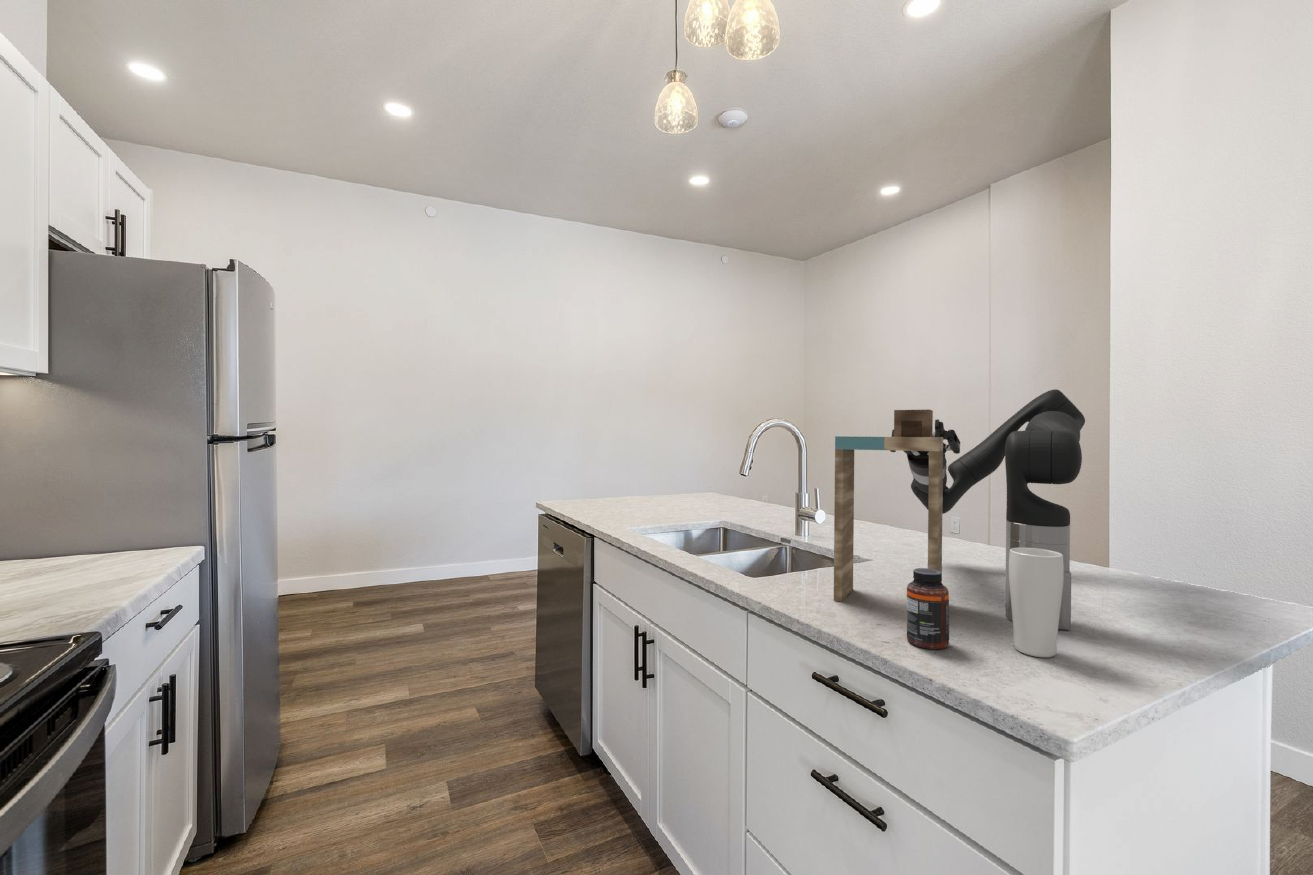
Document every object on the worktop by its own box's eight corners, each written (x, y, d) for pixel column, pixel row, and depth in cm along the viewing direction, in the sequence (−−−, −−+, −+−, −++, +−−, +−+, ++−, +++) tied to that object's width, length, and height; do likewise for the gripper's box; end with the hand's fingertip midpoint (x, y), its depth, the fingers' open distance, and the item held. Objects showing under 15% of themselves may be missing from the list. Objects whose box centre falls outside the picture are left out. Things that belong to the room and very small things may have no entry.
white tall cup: (1064, 664, 78) (1065, 558, 78) (1007, 654, 82) (1009, 553, 82) (1060, 649, 84) (1061, 550, 84) (1007, 640, 88) (1008, 545, 88)
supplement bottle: (939, 637, 89) (940, 566, 89) (955, 651, 83) (956, 576, 83) (900, 635, 89) (901, 565, 89) (914, 650, 83) (915, 574, 83)
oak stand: (941, 602, 107) (943, 437, 107) (936, 616, 99) (938, 437, 99) (845, 588, 117) (847, 436, 117) (833, 600, 108) (835, 436, 108)
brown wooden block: (938, 437, 115) (938, 413, 115) (929, 437, 100) (929, 409, 100) (907, 436, 118) (907, 413, 118) (893, 436, 104) (894, 410, 104)
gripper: (963, 478, 120) (959, 439, 107) (891, 475, 127) (880, 438, 115) (964, 448, 123) (960, 406, 110) (894, 447, 130) (883, 408, 118)
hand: (919, 423), depth 112 cm, fingers open, 5 cm apart
